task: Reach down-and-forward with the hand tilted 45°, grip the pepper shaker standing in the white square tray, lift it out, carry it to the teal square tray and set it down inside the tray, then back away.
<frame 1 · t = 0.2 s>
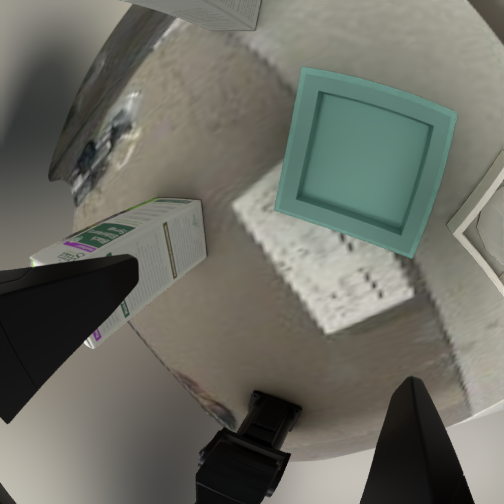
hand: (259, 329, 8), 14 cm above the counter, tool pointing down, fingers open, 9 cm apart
syrup box: (182, 226, 26), on the counter
skincare box: (239, 3, 15), on the counter
pepper shaker: (503, 221, 14), resting in white square tray
teal square tray: (365, 159, 17), on the counter
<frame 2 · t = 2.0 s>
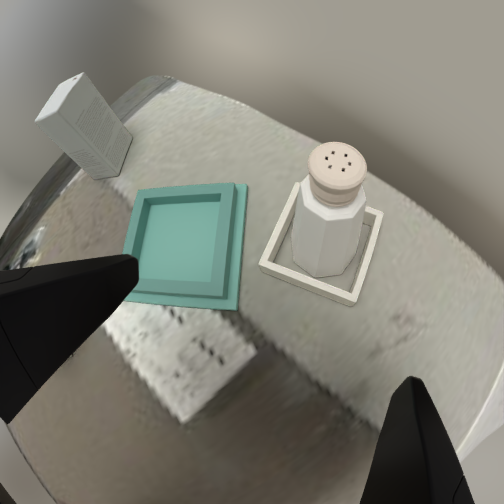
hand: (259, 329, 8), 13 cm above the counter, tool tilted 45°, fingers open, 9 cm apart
white square tray: (323, 246, 22), on the counter
skincare box: (114, 160, 30), on the counter
pepper shaker: (322, 247, 22), resting in white square tray
teal square tray: (181, 243, 24), on the counter
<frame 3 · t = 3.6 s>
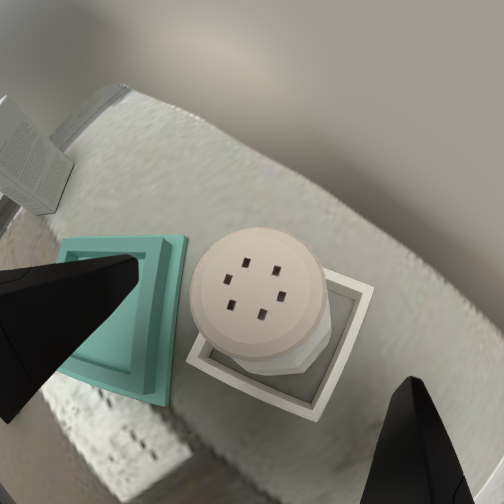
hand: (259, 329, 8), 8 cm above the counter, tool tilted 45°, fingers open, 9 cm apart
white square tray: (282, 331, 15), on the counter
skincare box: (54, 191, 24), on the counter
pepper shaker: (282, 331, 16), resting in white square tray
teal square tray: (108, 311, 18), on the counter
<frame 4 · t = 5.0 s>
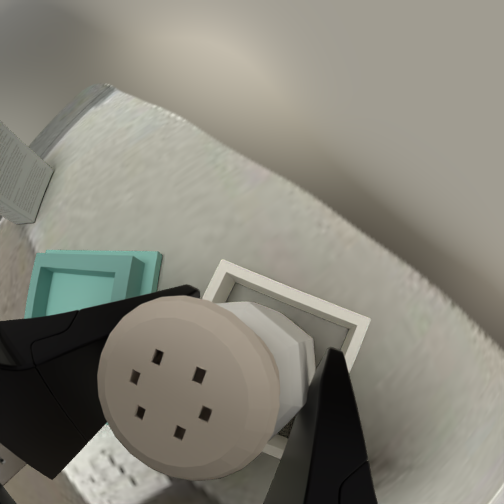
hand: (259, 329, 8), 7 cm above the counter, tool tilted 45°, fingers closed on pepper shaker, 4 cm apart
white square tray: (264, 363, 13), on the counter
skincare box: (34, 199, 21), on the counter
pepper shaker: (265, 363, 14), resting in white square tray, touching gripper
teal square tray: (82, 331, 15), on the counter
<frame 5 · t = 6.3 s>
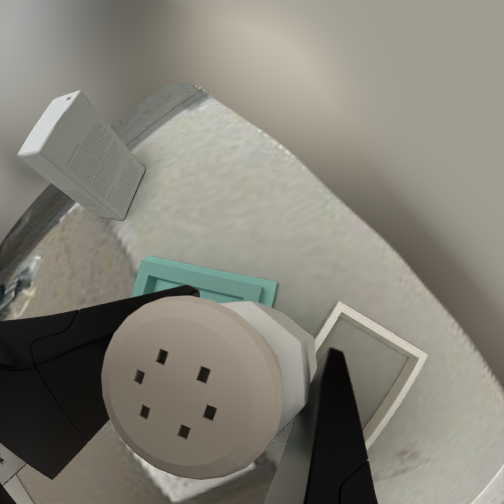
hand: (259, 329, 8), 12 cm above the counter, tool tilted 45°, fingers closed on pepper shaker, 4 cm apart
white square tray: (350, 376, 17), on the counter
skincare box: (121, 194, 26), on the counter
pepper shaker: (266, 362, 14), point 5 cm above the counter, touching gripper
teal square tray: (189, 338, 20), on the counter
when the fingers open (8 cm above the counter, at t = 7.7 s): pepper shaker drops 1 cm, resting on teal square tray.
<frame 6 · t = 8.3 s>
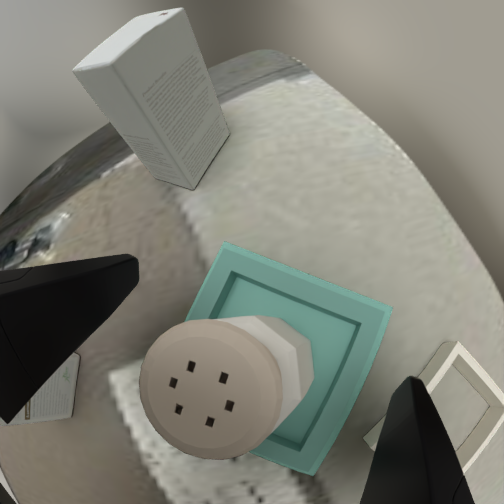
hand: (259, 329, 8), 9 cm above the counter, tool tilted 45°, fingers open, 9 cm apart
white square tray: (439, 422, 12), on the counter
syrup box: (56, 374, 17), on the counter
skincare box: (192, 158, 21), on the counter
pepper shaker: (267, 364, 15), resting on teal square tray
teal square tray: (269, 361, 15), on the counter
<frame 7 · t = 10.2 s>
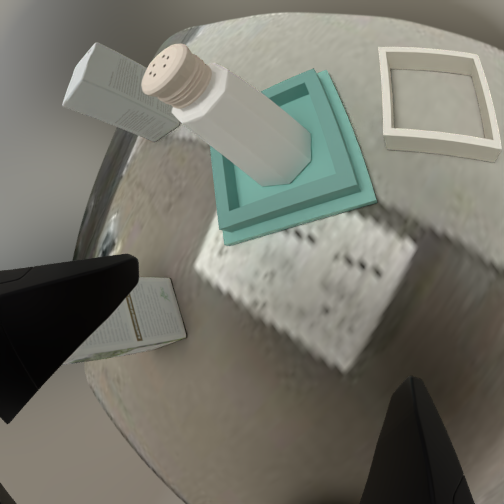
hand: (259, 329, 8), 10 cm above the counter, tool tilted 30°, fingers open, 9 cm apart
white square tray: (437, 105, 13), on the counter
syrup box: (162, 316, 25), on the counter
skincare box: (168, 115, 28), on the counter
pepper shaker: (279, 153, 19), resting on teal square tray
teal square tray: (281, 154, 19), on the counter
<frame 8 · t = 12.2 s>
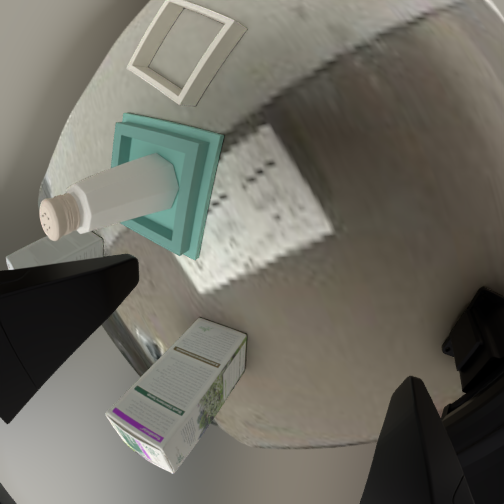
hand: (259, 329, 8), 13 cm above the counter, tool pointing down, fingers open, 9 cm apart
white square tray: (188, 49, 17), on the counter
syrup box: (224, 343, 28), on the counter
skincare box: (92, 242, 32), on the counter
pepper shaker: (157, 182, 23), resting on teal square tray
teal square tray: (159, 181, 24), on the counter
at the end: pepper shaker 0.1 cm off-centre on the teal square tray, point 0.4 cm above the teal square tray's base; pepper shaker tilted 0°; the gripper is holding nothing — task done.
